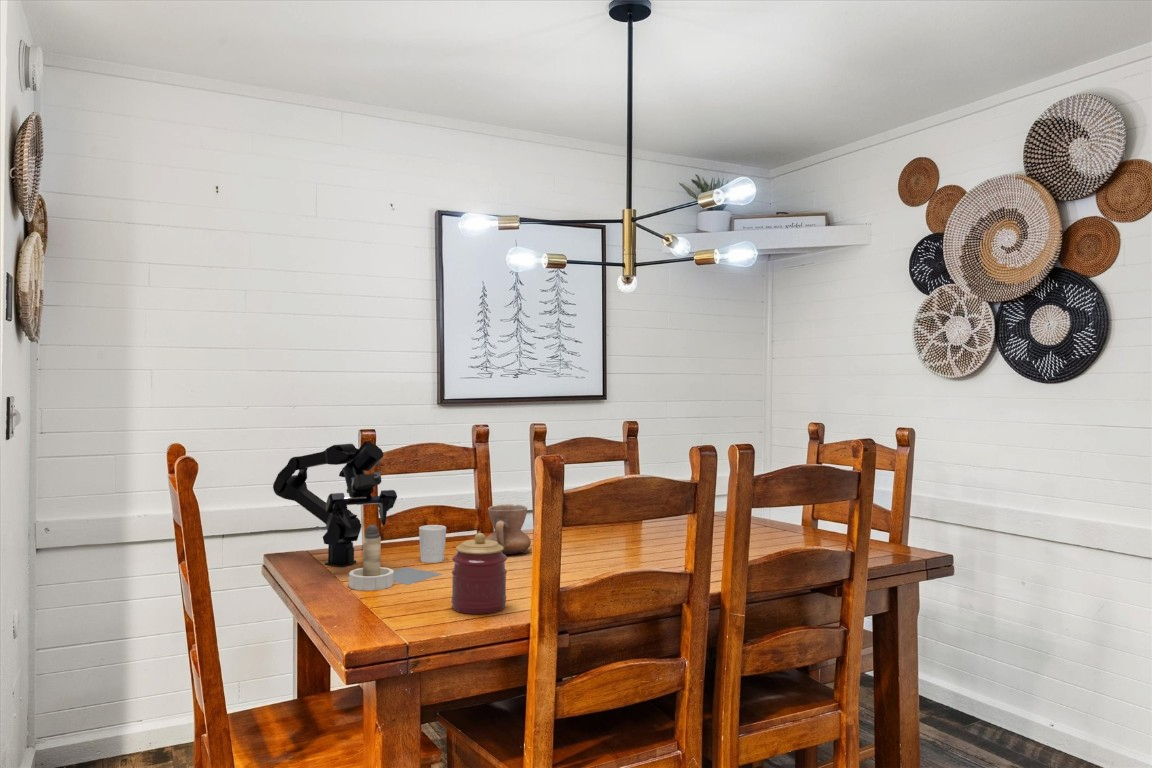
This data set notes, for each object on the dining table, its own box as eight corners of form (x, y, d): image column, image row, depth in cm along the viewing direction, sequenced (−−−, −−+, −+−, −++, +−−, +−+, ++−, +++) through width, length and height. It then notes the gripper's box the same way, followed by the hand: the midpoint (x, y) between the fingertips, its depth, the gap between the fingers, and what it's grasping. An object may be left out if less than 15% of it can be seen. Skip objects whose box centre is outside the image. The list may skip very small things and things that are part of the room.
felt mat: (368, 578, 215) (368, 577, 215) (404, 568, 227) (405, 567, 227) (407, 585, 208) (407, 584, 208) (443, 575, 220) (443, 573, 220)
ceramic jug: (495, 545, 261) (495, 501, 261) (537, 547, 257) (537, 503, 257) (474, 557, 243) (474, 511, 243) (519, 560, 240) (519, 513, 239)
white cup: (439, 565, 232) (440, 530, 232) (414, 563, 233) (414, 529, 233) (449, 559, 239) (450, 525, 239) (424, 557, 241) (425, 524, 241)
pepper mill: (359, 583, 207) (360, 524, 207) (374, 580, 210) (375, 522, 210) (367, 586, 204) (368, 526, 204) (383, 583, 207) (384, 524, 207)
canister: (459, 617, 182) (460, 540, 181) (445, 602, 193) (446, 529, 193) (513, 612, 187) (515, 536, 187) (496, 597, 199) (497, 526, 198)
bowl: (340, 588, 204) (340, 574, 204) (365, 578, 214) (365, 565, 214) (377, 593, 200) (377, 579, 200) (401, 583, 211) (401, 569, 211)
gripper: (328, 464, 217) (339, 510, 207) (395, 461, 227) (408, 505, 217) (320, 489, 223) (331, 535, 214) (385, 485, 233) (398, 529, 224)
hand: (368, 526), depth 217 cm, fingers open, 9 cm apart
